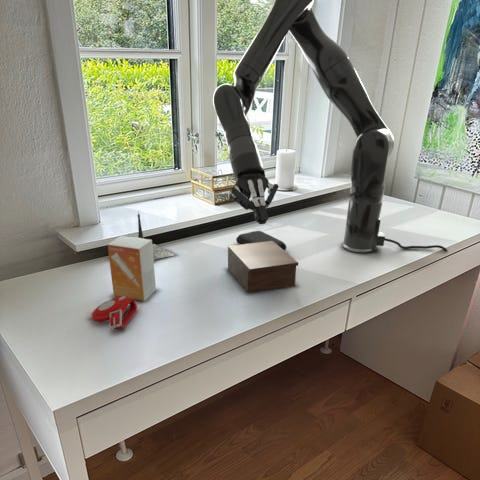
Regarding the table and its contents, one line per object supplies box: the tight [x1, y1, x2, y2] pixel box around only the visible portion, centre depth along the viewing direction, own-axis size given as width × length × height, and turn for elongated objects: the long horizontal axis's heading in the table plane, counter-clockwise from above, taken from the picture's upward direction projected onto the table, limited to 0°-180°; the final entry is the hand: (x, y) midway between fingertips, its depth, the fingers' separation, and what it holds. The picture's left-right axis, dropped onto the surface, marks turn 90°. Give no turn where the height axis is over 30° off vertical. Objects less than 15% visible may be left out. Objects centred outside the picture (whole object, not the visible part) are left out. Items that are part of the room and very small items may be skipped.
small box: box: [107, 235, 157, 302], centre depth 108 cm, size 8×6×13 cm
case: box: [227, 248, 297, 294], centre depth 119 cm, size 15×13×6 cm
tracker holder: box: [91, 296, 138, 331], centre depth 100 cm, size 12×4×10 cm
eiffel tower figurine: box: [137, 210, 175, 261], centre depth 128 cm, size 15×10×13 cm
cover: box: [227, 241, 299, 272], centre depth 117 cm, size 16×13×1 cm
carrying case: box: [235, 230, 288, 252], centre depth 137 cm, size 11×3×15 cm
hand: (263, 222), depth 113 cm, fingers closed
